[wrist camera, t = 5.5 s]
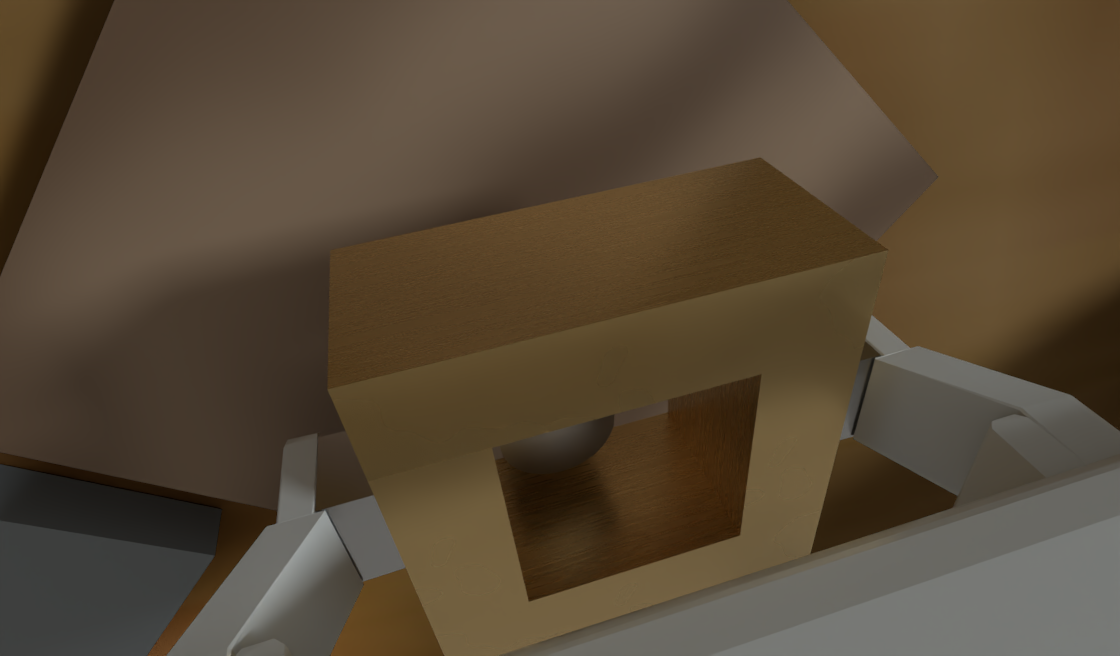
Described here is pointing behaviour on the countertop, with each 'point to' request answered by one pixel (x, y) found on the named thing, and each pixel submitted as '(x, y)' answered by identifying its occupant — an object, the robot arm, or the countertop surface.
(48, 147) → the countertop surface
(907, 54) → the countertop surface
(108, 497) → the plate
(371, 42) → the stand
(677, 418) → the tan square frame
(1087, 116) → the countertop surface
